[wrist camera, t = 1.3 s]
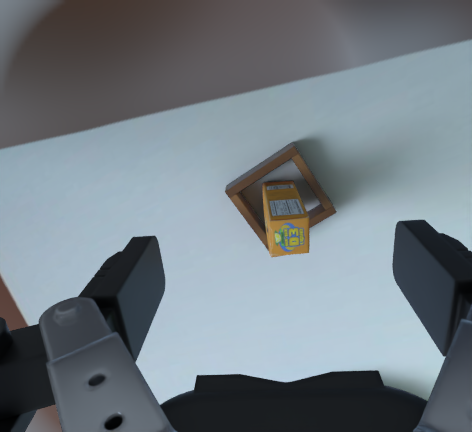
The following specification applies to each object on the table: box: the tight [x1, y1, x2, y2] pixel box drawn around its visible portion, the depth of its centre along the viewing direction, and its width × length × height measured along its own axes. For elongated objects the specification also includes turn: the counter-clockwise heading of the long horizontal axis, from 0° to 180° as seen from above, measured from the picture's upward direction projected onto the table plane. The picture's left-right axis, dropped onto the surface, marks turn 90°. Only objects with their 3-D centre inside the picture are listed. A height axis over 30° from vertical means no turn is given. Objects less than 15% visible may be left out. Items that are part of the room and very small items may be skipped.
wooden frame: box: [225, 142, 336, 251], centre depth 36 cm, size 8×8×2 cm
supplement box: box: [262, 181, 309, 257], centre depth 32 cm, size 3×3×10 cm
